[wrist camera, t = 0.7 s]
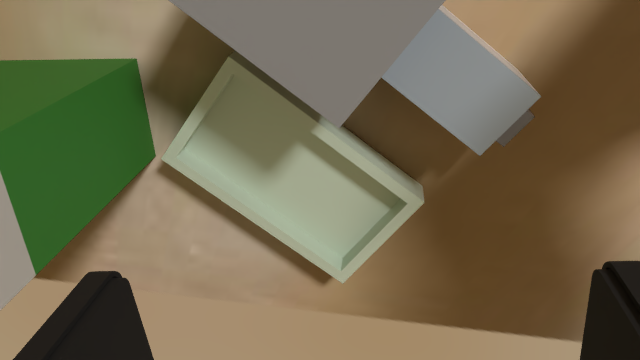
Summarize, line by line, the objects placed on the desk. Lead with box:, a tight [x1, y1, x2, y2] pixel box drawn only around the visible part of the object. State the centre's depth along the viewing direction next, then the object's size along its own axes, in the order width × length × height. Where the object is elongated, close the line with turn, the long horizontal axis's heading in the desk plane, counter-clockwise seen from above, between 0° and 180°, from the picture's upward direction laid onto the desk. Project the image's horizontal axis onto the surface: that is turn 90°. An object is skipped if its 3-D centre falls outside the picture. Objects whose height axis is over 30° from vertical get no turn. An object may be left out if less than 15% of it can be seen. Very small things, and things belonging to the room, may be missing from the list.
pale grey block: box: [381, 5, 541, 156], centre depth 31 cm, size 5×13×6 cm, turn 53°
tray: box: [161, 51, 424, 283], centre depth 37 cm, size 9×16×2 cm, turn 53°
